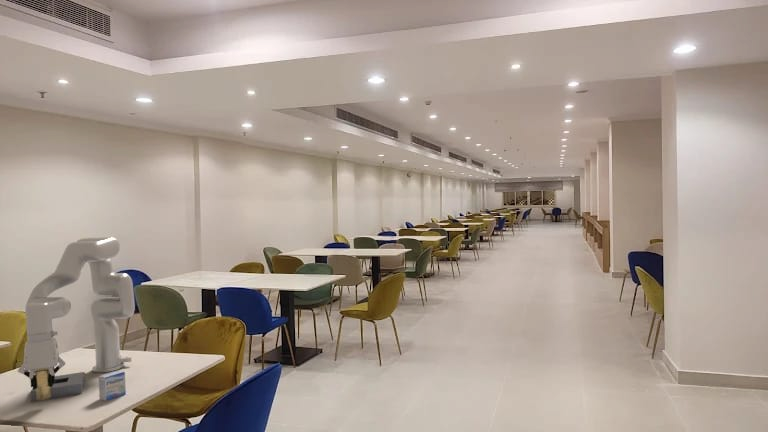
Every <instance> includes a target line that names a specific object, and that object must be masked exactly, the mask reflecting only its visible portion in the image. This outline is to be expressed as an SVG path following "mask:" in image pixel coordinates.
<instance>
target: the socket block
mask: <svg viewBox="0 0 768 432" xmlns="http://www.w3.org/2000/svg"><path fill="white" fill-rule="evenodd" d="M85 378H86V377H85V371H81V372H76V373H69V374H61V375H55V383H54V384H53V386H52V387H51V397H49V398H47V399H43V400H42V401H46V400H50V399H51V400H52V399H58V398H63V397H70V396H75V395H80V394H81V395H82V393H83V389H84V386H85V384H86V383H85V382H86V379H85ZM31 388H32V389H31V390H30V401H31V403H33V402H38V401H39V402H40V401H41V400H37V398H36V389H35V390H33V387H31Z"/></svg>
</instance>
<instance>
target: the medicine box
mask: <svg viewBox="0 0 768 432" xmlns="http://www.w3.org/2000/svg"><path fill="white" fill-rule="evenodd" d="M126 388H127V386H126V371H123V370H114V371H111V372H108V373H106V374H103V375H99V376H98V394H99V395H98V399H99V400H102V401H105V402H108V401H109V400H113V399H116V398H118V397H121V396H124V395H126V392H127V390H126Z"/></svg>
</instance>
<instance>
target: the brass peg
mask: <svg viewBox="0 0 768 432" xmlns="http://www.w3.org/2000/svg"><path fill="white" fill-rule="evenodd" d="M34 375H35V382H36V398H37V400H40V401H44V400H43V399H46V400H48V399H47V398H49V397H51V387H50V383H49V376H50V371H49V368H45V369H38V370H35V374H34Z"/></svg>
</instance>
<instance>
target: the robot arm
mask: <svg viewBox="0 0 768 432" xmlns="http://www.w3.org/2000/svg"><path fill="white" fill-rule="evenodd" d="M120 246H121V245H120V242H119V240H118V239H117V238H115V237H111V236H110V237H109V236H108V237H107V236H106V237H85V238H80V239H78V240H76V241H73V242H71V243H69V244H67V246H66V247H65V249H64V251H63V253H62V255H61V258H60V260H59V262H58V264H57V266H56V269H55V271H54V272H53V273H50V274H49V275H48V276H47V277H45V278H44V279H43V280H42V281H40V282H39V283H37V285H36V286H35V287H34V288H33V289H32V291H31V293H30V294H29V297H28V298H27V301H26V304H25V323H26V337H27V338H26V339H27V341H26V342H25V343H24V349H23V352H24V353H23V363H22V364H21V365H20V367H19V368H18V370H17V373H19V374H22V375H24V376H26V377H27V378H29V380H30V387H31V388H33V390H35V389H36V382H35V370H38V369H45V368H49V371H50V376H49V383H50V387H52V386H53V384H54V383H55V376H56V373H58V371H60V369H62V368H63V367H64V366H65V365H66V362H65V361H64V360H63V359H62V358H61V357H60V354H59V347H58V342H57V339H56V337H55V336H58V331H54V329H53V319H59V318H64V317H65V316H67V315H68V314H69V313H70V311H71V308H72V303H71V301H70V300H69V299H68V298H66V297H63V296H61V297H59V296H57V297H54V296H53V297H52V296H51V297H50V295H51V294H52V293H54V292H55V291H57V290H60V289H61V288H65V287H67V286H69V285H72V284H74V283H76V282H77V281H78V280H79V278H80V276H81V274H82V271H83V269H84V267H85V265H86V263H88V265H89V269H90V276H91V285H92V291H93V292H94V294H95V295H97V296H105V297H100V298H96V299H94V301H92V303H91V305H90V312H91V316H92V320H93V329H94V347H95V350H94V351H95V365H94V366H92V369H91V370H92V372H93V373H111V372H115V371H119V370H120V369H122V368H124V367H125V363H130V362H132V356H125V357H123V356H122V355H121V351H120V349H121V348H120V345H121V344H120V328H119V325H118V323H117V321H116V320H115V319H117V320H118V319H121V320H122V319H128V318H131V317H132V316H134V314H135V310H136V308H135V307H136V305H135V302H136V301H135V295H134V294H135V293H134V283H133V279H132V277H131V276H130V275H129V274H128V273H125V272H114V269H113V263H112V260H111V259H112V258H114V257H116V256H118V254H119V252H120V250H121V247H120ZM116 295H117V296H116ZM48 296H49V297H48ZM109 296H110V297H109Z"/></svg>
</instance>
